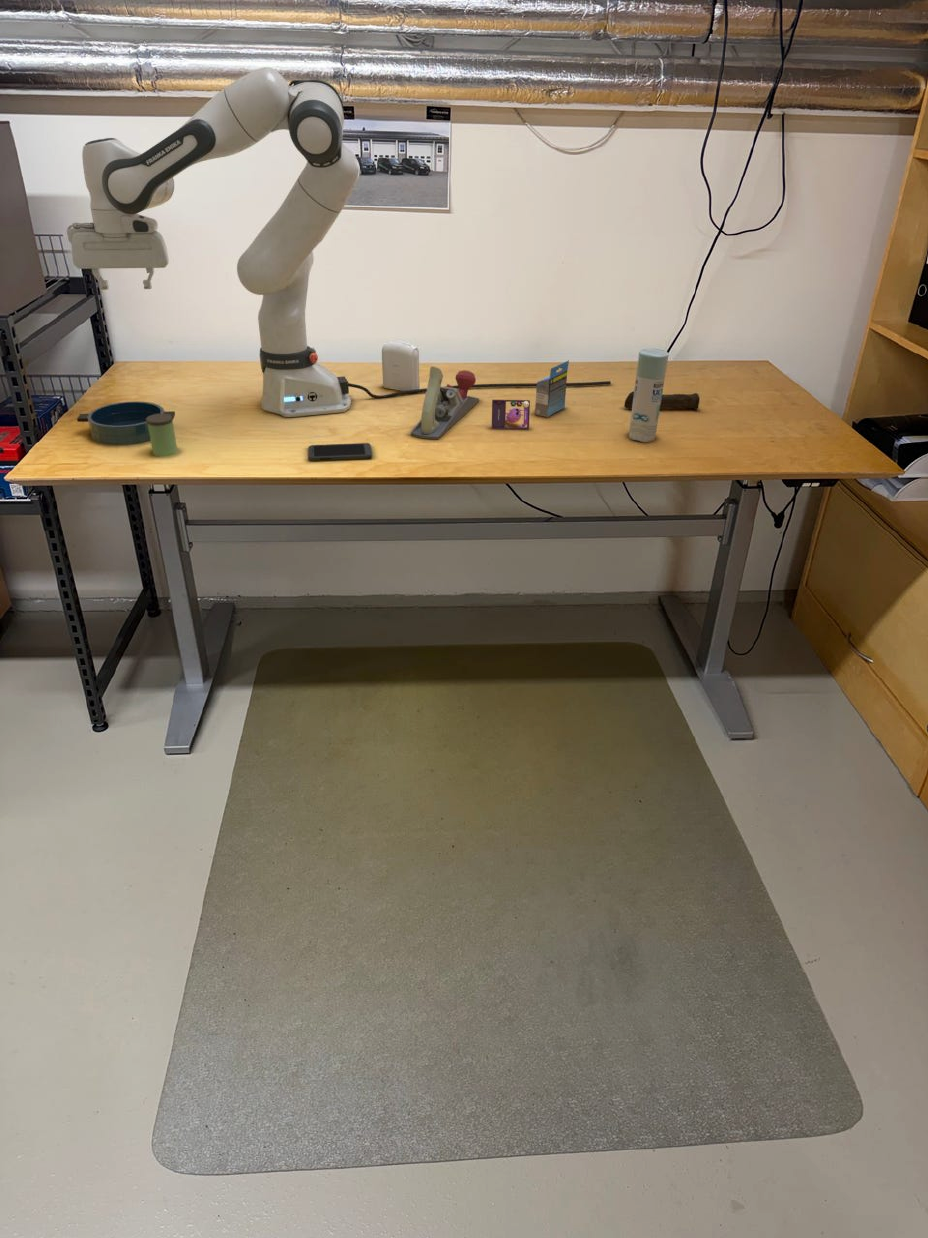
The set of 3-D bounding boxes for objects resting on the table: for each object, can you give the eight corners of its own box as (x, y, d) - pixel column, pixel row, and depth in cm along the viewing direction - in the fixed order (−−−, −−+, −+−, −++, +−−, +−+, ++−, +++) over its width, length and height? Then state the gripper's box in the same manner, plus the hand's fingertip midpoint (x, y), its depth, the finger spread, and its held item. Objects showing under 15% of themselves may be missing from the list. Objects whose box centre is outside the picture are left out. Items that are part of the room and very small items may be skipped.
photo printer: (380, 388, 229) (378, 341, 223) (388, 383, 233) (387, 337, 226) (414, 394, 226) (413, 346, 219) (421, 389, 229) (421, 342, 222)
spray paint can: (649, 444, 200) (662, 358, 189) (623, 438, 203) (634, 353, 192) (659, 436, 205) (672, 351, 194) (634, 430, 208) (645, 346, 197)
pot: (171, 418, 207) (168, 400, 205) (161, 444, 193) (158, 425, 191) (100, 420, 205) (96, 402, 203) (84, 447, 191) (79, 427, 189)
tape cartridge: (552, 405, 221) (555, 356, 215) (565, 408, 219) (569, 359, 213) (533, 414, 215) (537, 365, 208) (547, 418, 213) (551, 368, 207)
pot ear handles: (175, 414, 200) (174, 411, 200) (173, 419, 197) (172, 415, 197) (80, 417, 197) (79, 413, 197) (77, 422, 195) (76, 418, 194)
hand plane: (409, 436, 201) (408, 372, 193) (455, 395, 226) (456, 337, 217) (437, 440, 199) (437, 376, 191) (481, 399, 224) (482, 341, 215)
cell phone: (372, 458, 189) (372, 455, 189) (308, 461, 187) (308, 457, 187) (370, 445, 195) (370, 442, 195) (308, 448, 193) (308, 444, 193)
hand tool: (694, 406, 223) (697, 388, 221) (698, 411, 220) (701, 393, 217) (622, 405, 222) (624, 388, 220) (625, 411, 219) (627, 393, 216)
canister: (179, 447, 192) (173, 413, 188) (176, 457, 188) (170, 421, 184) (154, 448, 192) (148, 413, 187) (150, 457, 187) (144, 422, 183)
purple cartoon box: (492, 399, 204) (530, 400, 204) (491, 399, 209) (528, 400, 209) (491, 428, 205) (529, 429, 206) (490, 428, 210) (527, 428, 211)
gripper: (61, 224, 185) (75, 292, 192) (160, 224, 188) (170, 290, 195) (68, 220, 190) (81, 286, 197) (164, 220, 193) (174, 285, 200)
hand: (126, 288), depth 196 cm, fingers open, 8 cm apart
